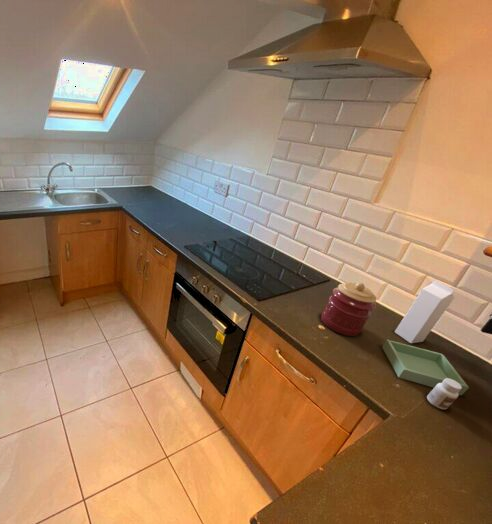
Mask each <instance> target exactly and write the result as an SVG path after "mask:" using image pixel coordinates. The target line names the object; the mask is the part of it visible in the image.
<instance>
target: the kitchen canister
mask: <svg viewBox="0 0 492 524" xmlns="http://www.w3.org/2000/svg"><path fill="white" fill-rule="evenodd" d="M376 302H377V296H376V294H374V293H373V292H372V290H371V289H369V288H368V287H366V285H365V284H364V283H363V282H357V283H355V282H343V283H339V284H338V286H337V287H335V288H333V290H332V295H330V296H329V298H328V300H327V303H326V305H325V307H324V309H323V310H322V312H321V316H320V319H321V321H322V322H323V324H324V325H325V326H326V327H328V328H329V329H331V330H332V331H333V332H336V333H338V334H341V335H344V336H348V337H349V336H350V337H355V336H359V335H360V333H361V332H362V331H363V330H364V326H365V325H366V323H367V322H368V320H369V318H371V316H372V311H373V310H375V309H376V307H377V304H376Z"/></svg>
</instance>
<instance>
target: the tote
mask: <svg viewBox="0 0 492 524" xmlns="http://www.w3.org/2000/svg"><path fill="white" fill-rule="evenodd" d="M381 348H382V350H383V352H384V354H385V355H386V358H387V359H388V361H389V363H390V365H391V367H392V368H393V370H394V372H395V374H396V375H397V377H398V378H399V379H401V380H405V381H409V382H414V383H416V384H420V385H424V386H426V387H431V388H434V387H435V386H436V385H437V384H438V383H442V381H443V380H444V379H445V378H450V379H452V380H455V381H456V382H458V383H459V384H460V385H461V386H462V389H461V390H460V391H459V392H458V394H459V396H463V395H464V394H465V392H466V391H467V390H468V389H469V388H470V386H469V385H468V384H467V383H466V381H464V379H463V378H462V376H461V375H460V374H459V372H458V371H457V370H456V368H455V367H454V366H453V365H452V364H451V362H450V361H449V360H448V359H447V358H446V356H445V355H444V354H443V353H440V352H437V351H433V350H429V349H425V348H421V347H418V346H414V345H410V344H406V343H403V342H398V341H394V340H390V339H386V340H385V342H384V343H383V345H382V346H381Z"/></svg>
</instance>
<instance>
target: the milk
mask: <svg viewBox="0 0 492 524" xmlns="http://www.w3.org/2000/svg"><path fill="white" fill-rule="evenodd" d="M454 292H455V288H452V287H450V286H448V285H446V284H443V283H442V282H439V281H438V280H436V279H435V280H433V281H432V282H431V283H430V284H428V285H426V286H424V287H422V288H421V290H420V291H419V293H418V295H417V296H416V298H415V299H414V300H413V303H412V304H411V306H410V307H409V309H408V310H407V312H406V313H405V314H404V316H403V318H402V320H401V321H400V322H399V324H398V325H397V327H396V328H395V330H394V333H395V334H396V335H398V336H399V337H401V338H402V339H404V340H405V341H407V343H410V344H416V343H422V342H424V341H425V339H426V338H427V337H428V335H429V334H430V333H431V331H432V330H433V328H434V327H435V326H436V325H437V323H438V321H439V320H440V319H441V317H442V316H443V314H445V312H446V310H448V308H449V306H450V305H451V304H452V302H453V301H454V300H455V296H454V294H453V293H454Z"/></svg>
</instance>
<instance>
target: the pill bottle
mask: <svg viewBox="0 0 492 524" xmlns="http://www.w3.org/2000/svg"><path fill="white" fill-rule="evenodd" d="M461 389H462V386H461V385H460V384H459V383H458V382H456V381H455V380H452V379H450V378H445V379H444V380H443V381H442V383H438V384H437V385H436V386H435V387H433V389H431V390H430V392H429V393H428V394H427V395H426V399H427V401H428V402H429V403H430V405H432V406H433V407H435V408H437V409H440V410H447V409H448V408H449V407H450V406H451V405H452V404H453V403H454V402H455V401H456V400H457V399H458V397H459V396H460V395H459V394H458V392H459V391H460V390H461Z"/></svg>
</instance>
